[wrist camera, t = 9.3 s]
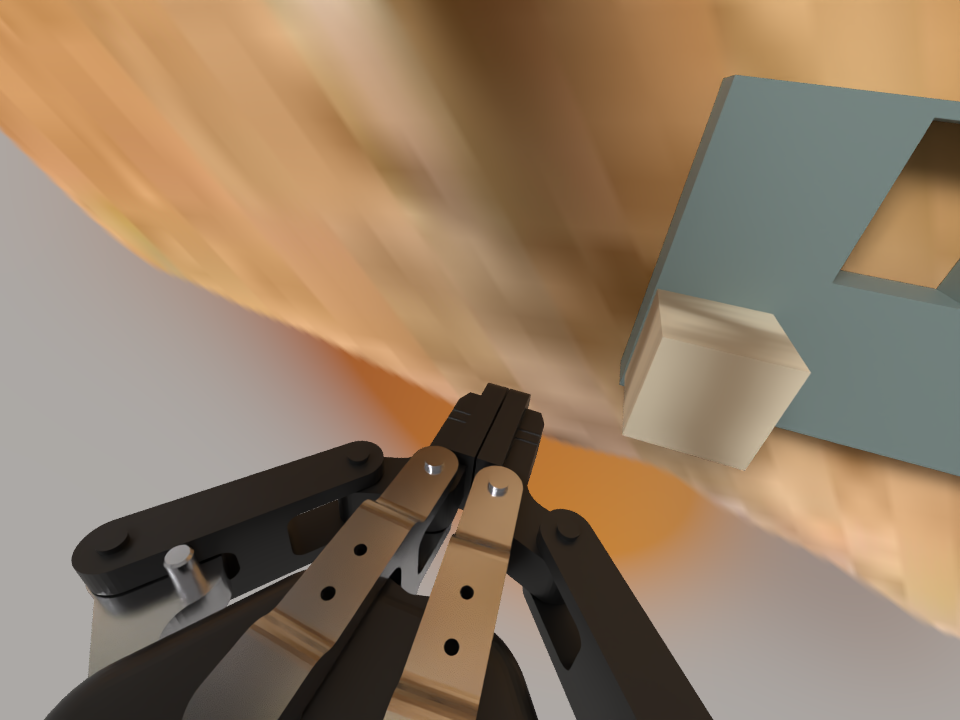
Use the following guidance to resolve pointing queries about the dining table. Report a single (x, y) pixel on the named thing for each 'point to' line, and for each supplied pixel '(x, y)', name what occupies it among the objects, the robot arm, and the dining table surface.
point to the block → (709, 379)
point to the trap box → (821, 259)
